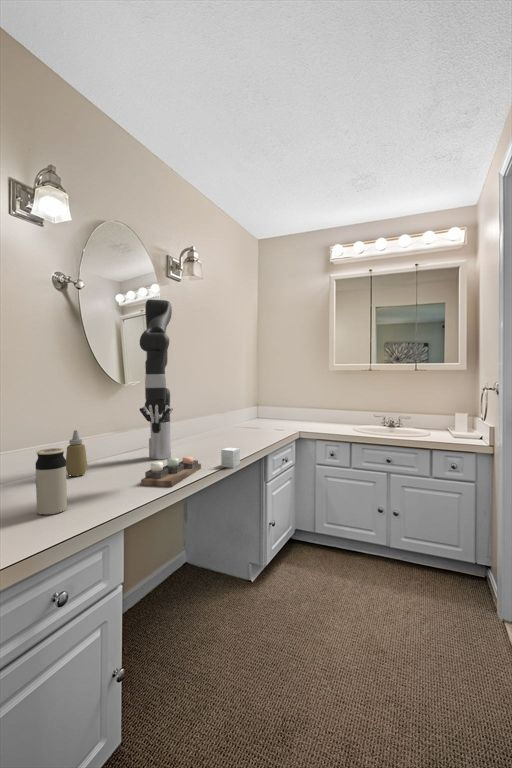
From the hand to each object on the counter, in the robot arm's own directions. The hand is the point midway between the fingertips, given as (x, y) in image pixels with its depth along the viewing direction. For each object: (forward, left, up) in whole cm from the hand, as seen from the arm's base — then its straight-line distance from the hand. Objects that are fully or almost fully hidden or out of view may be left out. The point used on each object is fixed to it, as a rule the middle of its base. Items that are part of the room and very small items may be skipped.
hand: (156, 433), depth 149 cm
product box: (+20, +29, -18) cm, 40 cm away
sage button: (+3, +8, -14) cm, 17 cm away
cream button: (0, 0, -14) cm, 14 cm away
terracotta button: (+5, +16, -16) cm, 23 cm away
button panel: (+3, +8, -18) cm, 20 cm away
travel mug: (-15, -36, -18) cm, 43 cm away
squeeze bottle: (-36, +2, -18) cm, 41 cm away
